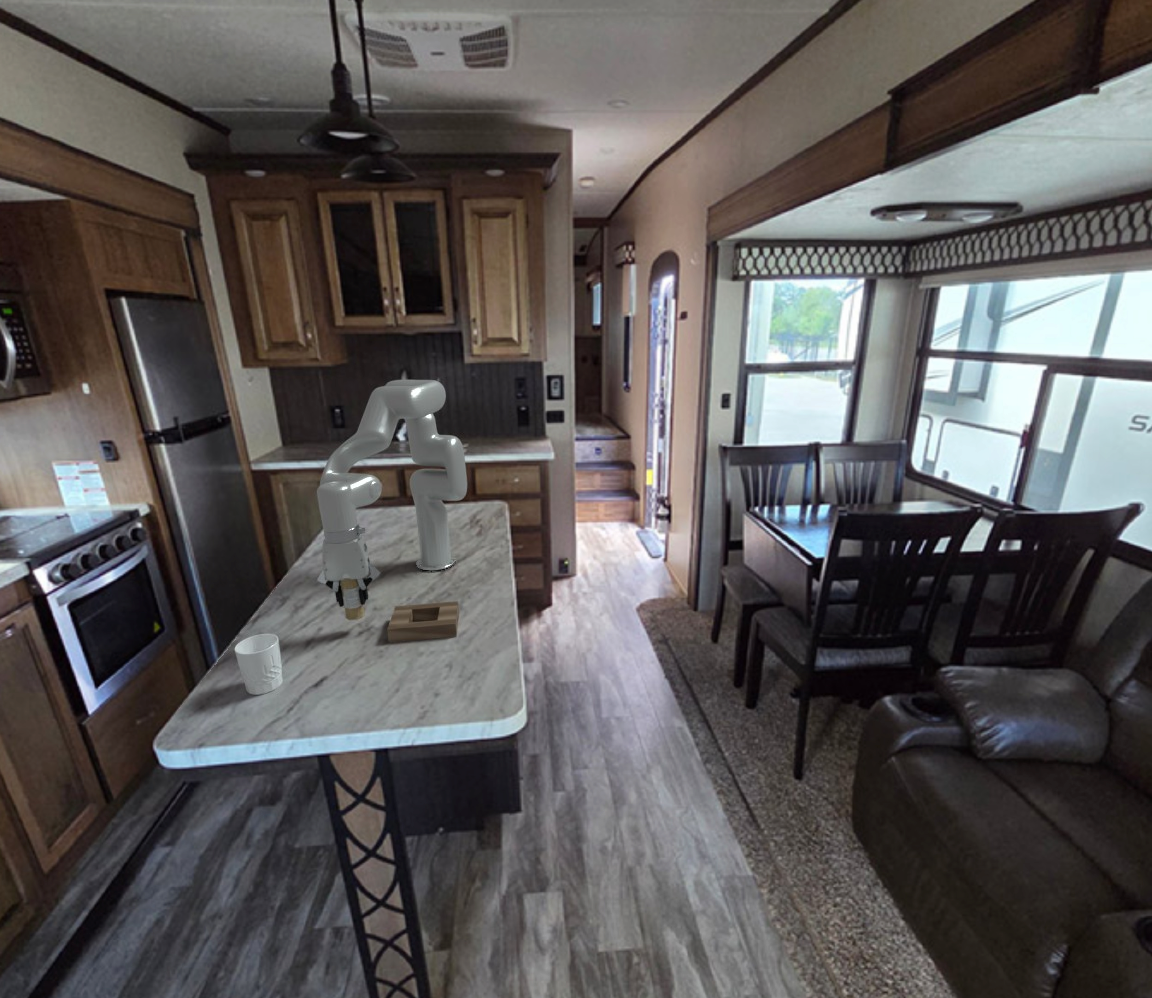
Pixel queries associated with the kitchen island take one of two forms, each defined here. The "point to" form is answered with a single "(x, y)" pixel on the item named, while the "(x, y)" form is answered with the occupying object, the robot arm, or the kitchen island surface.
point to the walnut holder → (424, 621)
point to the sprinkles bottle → (351, 598)
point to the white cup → (260, 663)
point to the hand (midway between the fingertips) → (353, 602)
